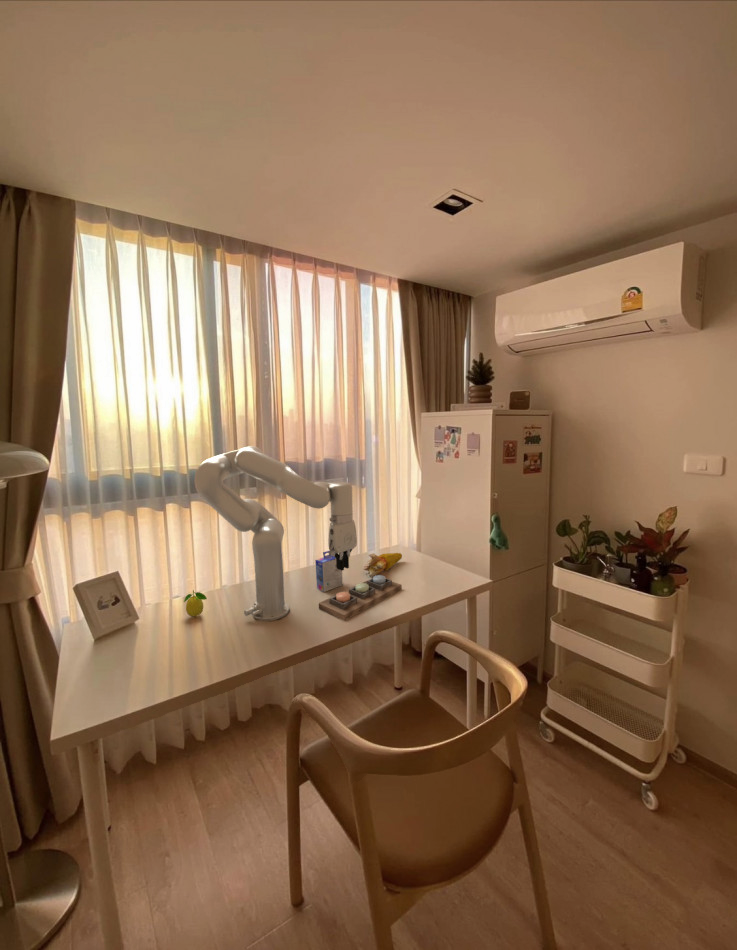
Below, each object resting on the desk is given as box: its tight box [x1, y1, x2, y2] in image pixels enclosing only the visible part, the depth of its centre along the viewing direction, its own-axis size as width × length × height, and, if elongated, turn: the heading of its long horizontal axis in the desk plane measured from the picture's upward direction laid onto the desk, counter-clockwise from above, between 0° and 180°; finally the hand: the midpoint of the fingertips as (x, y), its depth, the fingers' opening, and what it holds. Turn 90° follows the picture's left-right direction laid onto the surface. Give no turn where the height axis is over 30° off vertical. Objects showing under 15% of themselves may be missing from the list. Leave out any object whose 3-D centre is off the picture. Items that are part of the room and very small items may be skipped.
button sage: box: [355, 582, 369, 594], centre depth 153 cm, size 5×5×2 cm
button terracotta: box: [335, 591, 350, 603], centre depth 146 cm, size 5×5×2 cm
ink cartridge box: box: [314, 550, 344, 593], centre depth 163 cm, size 10×6×14 cm, turn 133°
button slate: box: [372, 574, 387, 585], centre depth 160 cm, size 5×5×2 cm
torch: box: [362, 552, 403, 579], centre depth 181 cm, size 8×8×25 cm
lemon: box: [183, 589, 207, 618], centre depth 140 cm, size 7×6×10 cm
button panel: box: [318, 577, 403, 621], centre depth 153 cm, size 32×13×4 cm, turn 138°
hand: (342, 568), depth 144 cm, fingers closed
